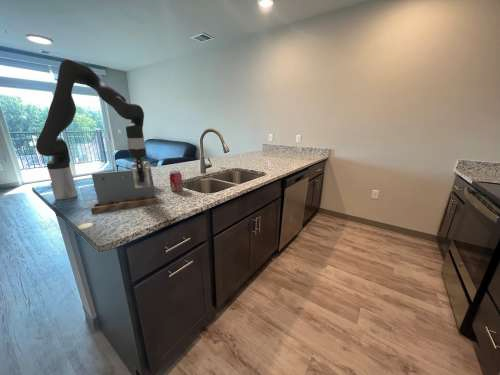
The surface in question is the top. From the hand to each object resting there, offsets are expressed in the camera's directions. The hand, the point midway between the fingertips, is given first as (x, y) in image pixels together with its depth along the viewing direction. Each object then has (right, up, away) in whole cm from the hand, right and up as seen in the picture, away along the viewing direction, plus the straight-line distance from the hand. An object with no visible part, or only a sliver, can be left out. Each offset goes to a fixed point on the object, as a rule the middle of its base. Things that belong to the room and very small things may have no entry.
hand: (142, 180), depth 105 cm
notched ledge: (-8, -13, 0) cm, 15 cm away
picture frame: (0, -3, +1) cm, 3 cm away
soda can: (+10, -6, +23) cm, 26 cm away
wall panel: (-13, -10, +9) cm, 19 cm away
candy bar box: (-14, -4, +29) cm, 32 cm away
